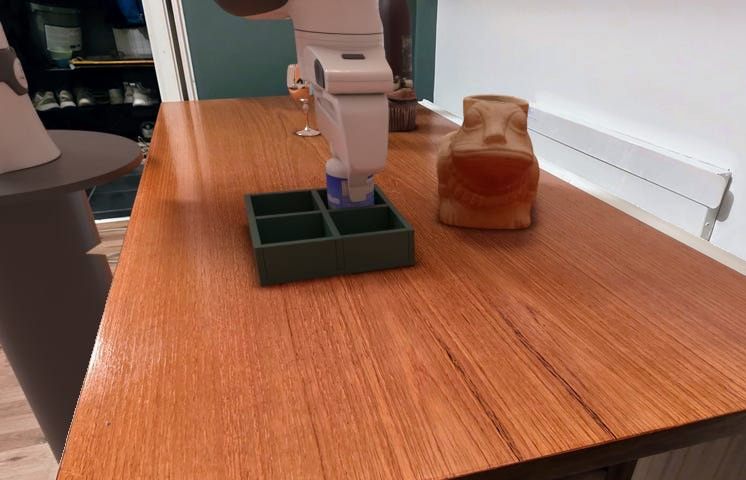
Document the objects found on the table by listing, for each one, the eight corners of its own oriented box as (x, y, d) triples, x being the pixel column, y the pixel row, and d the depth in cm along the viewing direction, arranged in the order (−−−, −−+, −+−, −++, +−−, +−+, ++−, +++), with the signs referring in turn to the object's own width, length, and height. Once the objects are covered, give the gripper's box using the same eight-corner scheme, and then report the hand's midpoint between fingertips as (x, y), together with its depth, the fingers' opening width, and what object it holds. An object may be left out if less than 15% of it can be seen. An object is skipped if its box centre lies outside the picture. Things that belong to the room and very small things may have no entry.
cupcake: (428, 127, 115) (428, 76, 110) (397, 134, 108) (396, 80, 103) (393, 119, 119) (392, 70, 114) (362, 126, 112) (359, 74, 107)
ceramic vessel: (427, 240, 65) (428, 108, 57) (442, 174, 87) (444, 73, 79) (543, 246, 65) (560, 115, 57) (528, 179, 87) (539, 78, 80)
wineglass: (329, 131, 107) (323, 65, 101) (314, 137, 102) (307, 68, 96) (302, 128, 108) (295, 62, 102) (287, 134, 103) (278, 66, 97)
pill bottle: (326, 216, 67) (318, 136, 62) (369, 212, 69) (365, 134, 64) (334, 233, 63) (327, 148, 58) (380, 228, 65) (377, 146, 60)
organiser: (260, 286, 53) (254, 248, 51) (249, 227, 65) (243, 194, 63) (415, 264, 59) (414, 229, 57) (377, 214, 71) (376, 183, 69)
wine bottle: (406, 114, 124) (403, -41, 109) (377, 111, 125) (370, -43, 110) (416, 109, 130) (415, -40, 115) (388, 106, 131) (384, -41, 116)
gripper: (296, 49, 64) (308, 166, 71) (329, 76, 48) (341, 224, 55) (350, 50, 66) (357, 163, 73) (398, 76, 50) (401, 217, 57)
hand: (350, 190), depth 64 cm, fingers closed on pill bottle, 5 cm apart
